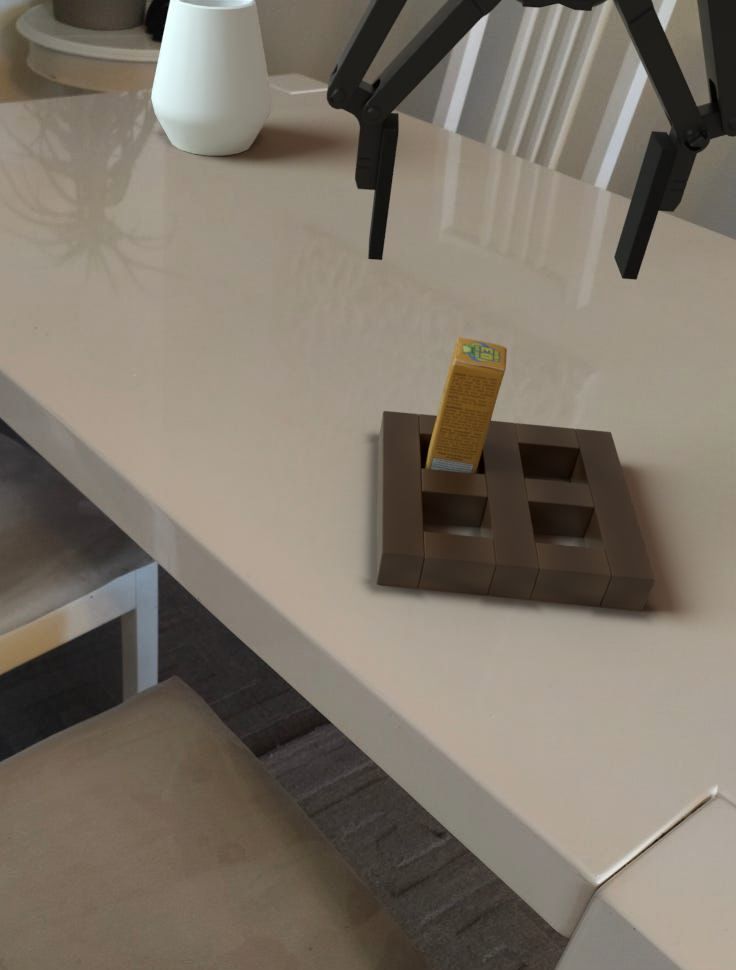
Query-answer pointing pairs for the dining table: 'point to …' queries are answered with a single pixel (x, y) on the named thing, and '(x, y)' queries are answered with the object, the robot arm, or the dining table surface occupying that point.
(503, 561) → the socket block
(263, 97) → the white vase
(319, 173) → the dining table surface
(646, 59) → the robot arm
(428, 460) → the supplement box
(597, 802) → the dining table surface
